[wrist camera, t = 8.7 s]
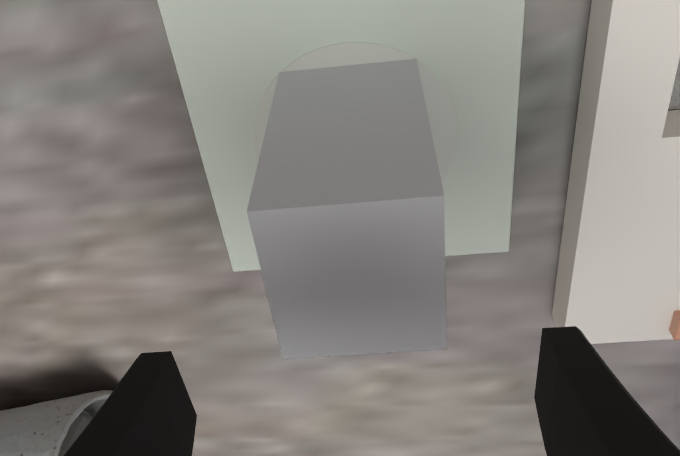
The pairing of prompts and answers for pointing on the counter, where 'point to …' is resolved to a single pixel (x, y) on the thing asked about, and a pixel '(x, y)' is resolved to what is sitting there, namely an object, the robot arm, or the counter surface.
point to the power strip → (624, 180)
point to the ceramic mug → (48, 425)
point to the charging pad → (351, 49)
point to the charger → (351, 213)
